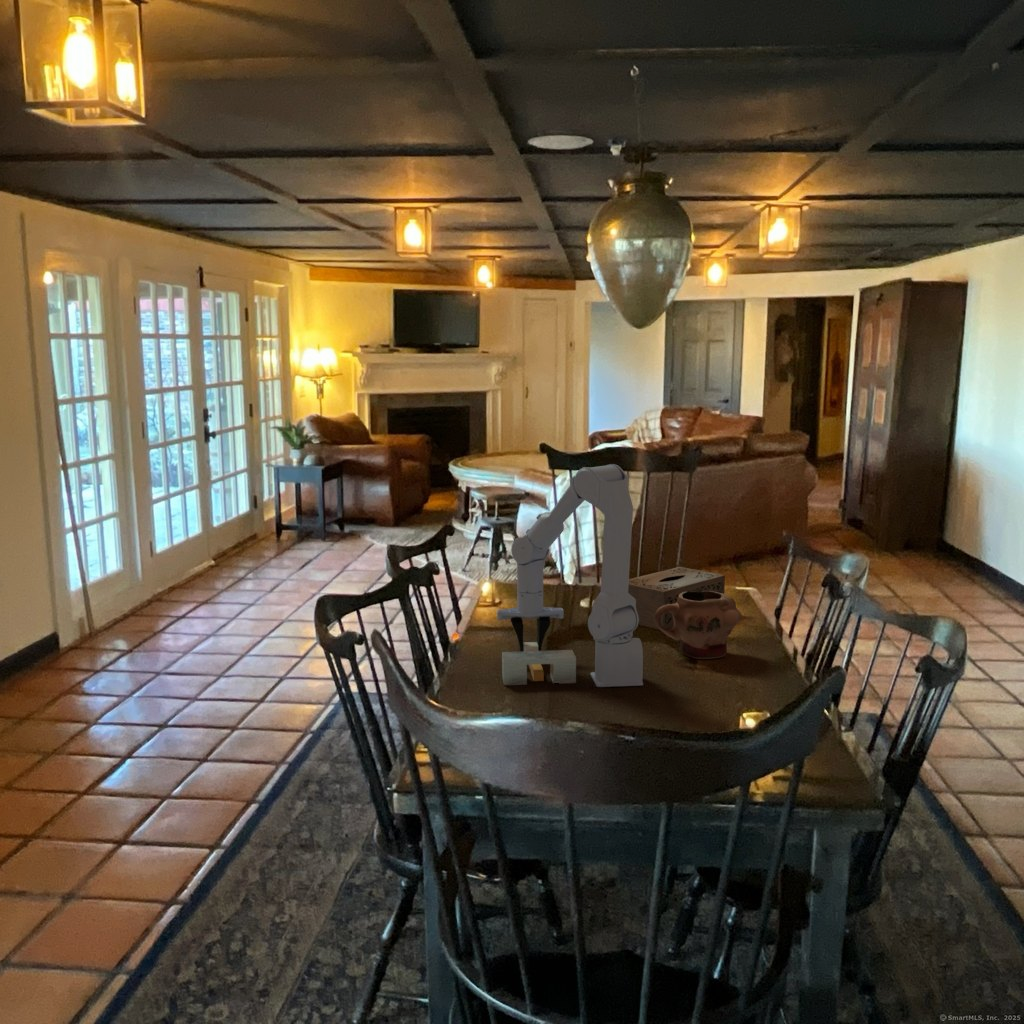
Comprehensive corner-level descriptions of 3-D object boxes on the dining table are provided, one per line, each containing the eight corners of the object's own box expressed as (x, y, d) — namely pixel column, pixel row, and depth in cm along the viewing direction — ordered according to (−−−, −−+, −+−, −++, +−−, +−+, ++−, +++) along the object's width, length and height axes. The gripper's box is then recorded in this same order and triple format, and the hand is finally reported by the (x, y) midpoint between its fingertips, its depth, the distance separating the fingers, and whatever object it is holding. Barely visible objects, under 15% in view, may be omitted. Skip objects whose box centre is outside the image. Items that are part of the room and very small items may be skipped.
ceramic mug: (667, 667, 197) (668, 604, 195) (644, 650, 208) (645, 590, 206) (751, 659, 202) (753, 597, 200) (723, 643, 214) (725, 584, 211)
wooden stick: (546, 680, 189) (546, 666, 188) (531, 681, 188) (531, 667, 188) (536, 655, 205) (536, 642, 205) (522, 655, 205) (522, 642, 205)
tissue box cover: (662, 631, 224) (663, 591, 222) (617, 620, 234) (617, 581, 233) (723, 612, 241) (725, 575, 240) (679, 602, 252) (679, 566, 250)
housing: (571, 674, 192) (572, 649, 191) (575, 682, 187) (575, 657, 186) (502, 677, 191) (502, 652, 190) (504, 685, 186) (504, 659, 185)
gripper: (560, 585, 206) (560, 643, 208) (495, 586, 205) (496, 645, 207) (565, 592, 199) (564, 653, 201) (498, 594, 198) (498, 655, 200)
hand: (530, 650), depth 204 cm, fingers closed on wooden stick, 3 cm apart
